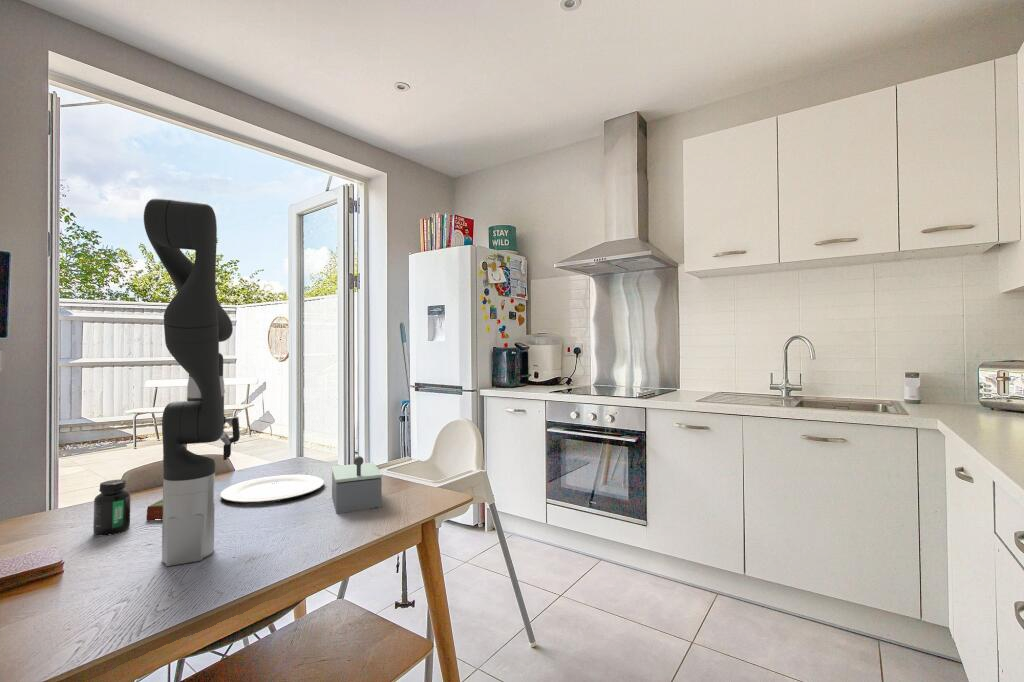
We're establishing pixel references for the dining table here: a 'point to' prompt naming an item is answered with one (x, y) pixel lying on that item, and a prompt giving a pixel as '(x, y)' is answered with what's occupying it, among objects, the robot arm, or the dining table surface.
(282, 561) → the dining table surface
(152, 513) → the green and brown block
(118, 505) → the supplement bottle
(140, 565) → the dining table surface
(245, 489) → the plate
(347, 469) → the lid
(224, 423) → the robot arm
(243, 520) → the dining table surface
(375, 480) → the box
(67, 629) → the dining table surface
